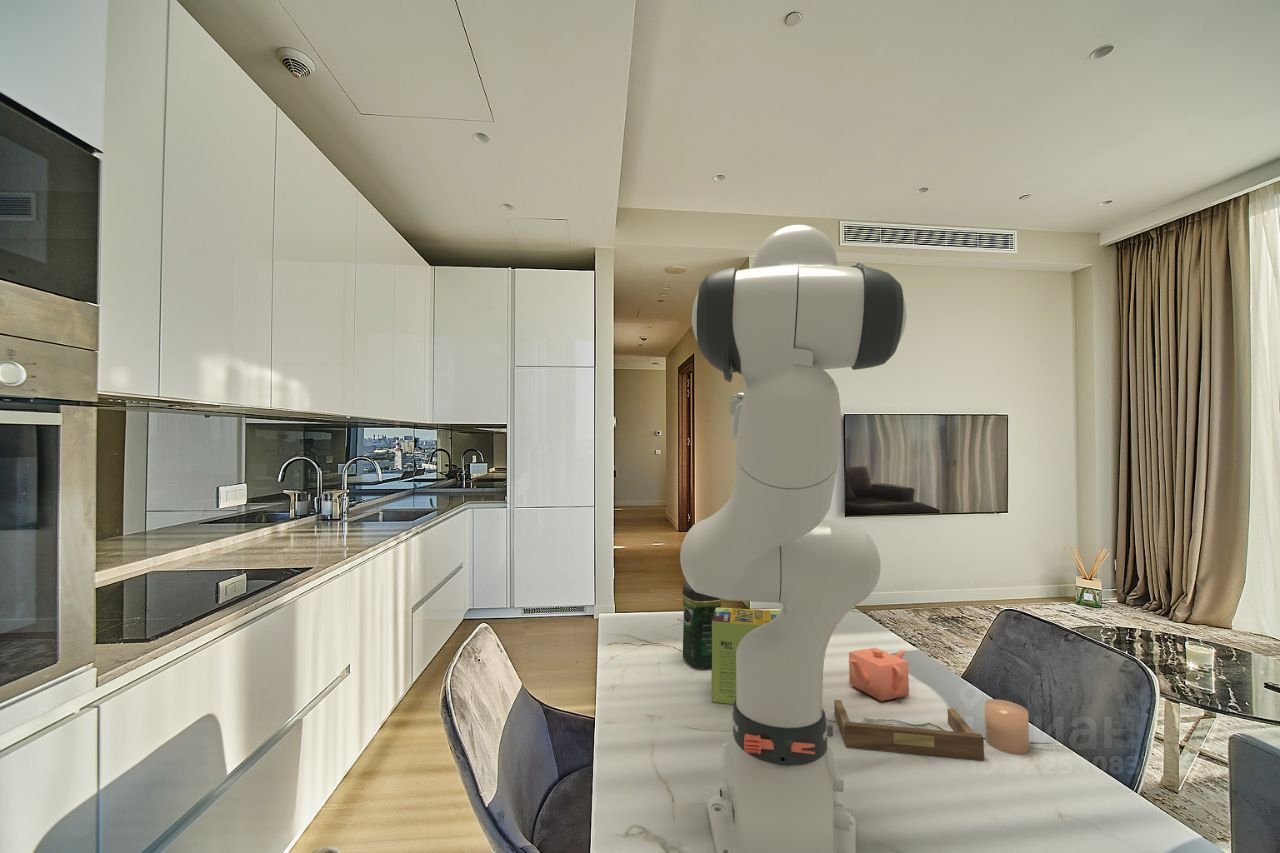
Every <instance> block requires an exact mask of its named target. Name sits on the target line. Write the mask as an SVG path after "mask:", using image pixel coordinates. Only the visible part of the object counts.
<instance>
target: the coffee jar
mask: <svg viewBox="0 0 1280 853" xmlns="http://www.w3.org/2000/svg"><path fill="white" fill-rule="evenodd" d="M682 586H683V587H682V603H683V605H682V606H683V628H682V630H683V631H682V632H683V633H682V634H683V636H682V658H683V659H684V661H685V662H686V663H687V664H689V665H690V666H691V667H693V668H696V669H705V670H710V669H711V670H712V619H713V617H714V613H715V608H722V601H723V599H720V598H716V597H712V596H708V595H704V594H700V593H697V592H695V591H694V590H693V589H692V588H691V586H690V585H689V584H688V582H687V581H686V580H685V582H684V583H683V585H682Z"/></svg>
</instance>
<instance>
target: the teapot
mask: <svg viewBox="0 0 1280 853" xmlns="http://www.w3.org/2000/svg"><path fill="white" fill-rule="evenodd" d="M906 652H907V650H905V649H904V650H898V651H897V652H896V654H895V655H893V654H892V653H889V652H888V651H887V652H886V651H885V650H882V649H879V648H877V647H871V648H866V649H865V648H864V649H859V650H855V651H854V650H853V651H849V652H848V660H847V661H848V669H849V670H848V672H849V673H848V674H849V675H848V676H849V678H848V679H849V680H848V681H849V685H851V686H853V687H854V688H856V689H858V690H859V691H862V692H864V693H866V694H867V695H869V696H871V697H873V698H874V699H876V700H879V701H881V702H885V701H889V700H892V699H897V698H901V697H906V696H909V695H910V688H909V687H910V682H909V681H910V680H909V661H908V660H905V659H904V658H903V656H904V655H905V653H906Z"/></svg>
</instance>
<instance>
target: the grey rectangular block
mask: <svg viewBox="0 0 1280 853" xmlns="http://www.w3.org/2000/svg"><path fill="white" fill-rule="evenodd" d="M826 722H827V737H834V726H833V725H832V723H831V722H830V720H829V719H828V718H827V717H826Z"/></svg>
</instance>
